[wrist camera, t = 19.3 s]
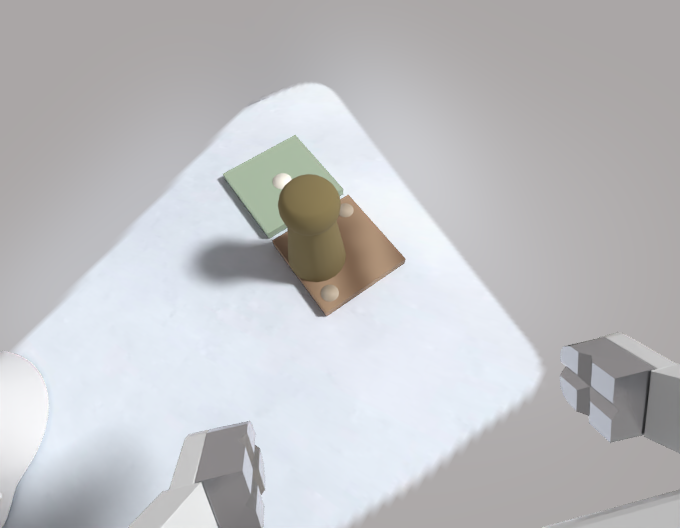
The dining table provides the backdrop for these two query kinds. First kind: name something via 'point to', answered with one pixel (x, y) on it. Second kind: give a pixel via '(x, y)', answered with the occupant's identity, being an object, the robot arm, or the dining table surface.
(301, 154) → the tile one
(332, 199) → the cork
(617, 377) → the robot arm
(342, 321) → the dining table surface
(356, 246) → the tile two
